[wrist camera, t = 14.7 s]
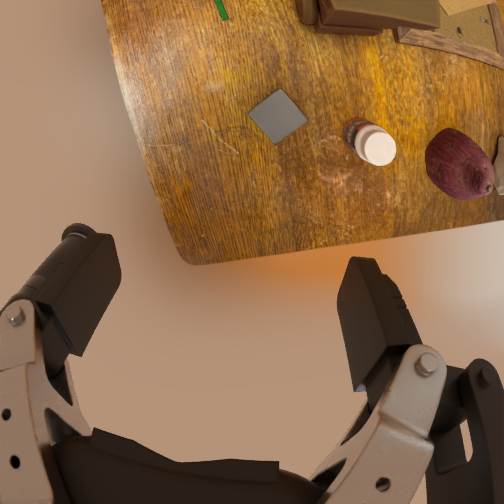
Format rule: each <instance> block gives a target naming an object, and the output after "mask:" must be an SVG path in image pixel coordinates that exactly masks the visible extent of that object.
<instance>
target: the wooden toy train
mask: <svg viewBox="0 0 504 504" xmlns="http://www.w3.org/2000/svg"><path fill="white" fill-rule="evenodd" d="M295 1H296V6H297V11H298V15H299V18H300V20H301V21H302V22H303V23H304V24H307V25H311V24H314V26H315V32H318V33H345V34H358V35H368V36H375V35H377V34H380V33H383V31H382V29H386V28H395V27H400V26H401V27H408V28H414V29H419V30H424V31H428V30H433V29H438V28H441V27H440V4H439V0H295Z"/></svg>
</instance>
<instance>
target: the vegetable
mask: <svg viewBox="0 0 504 504" xmlns="http://www.w3.org/2000/svg"><path fill="white" fill-rule="evenodd" d="M425 156H426V157H425V158H426V159H425V160H426V168H427V172H428V176H429V178H430V179H431V180H432V181H433V183H434V184H435V185H436V186H437V187H439V188H440V189H441V190H442V191H443V192H445V193H446V194H448V195H450V196H452V197H454V198H458V199H463V200H471V199H476V198H479V197H481V196H483V195H488V194H490V193H491V191H492V189H493V181H494V174H493V167H492V165H491V162H490V160H489V158H488V157H487V155H486V154H485V153H484V152H483V151H482V149H481V148H480V147H479V146H478V145H477V144H476V143H475V142H474V141H473V140H472V139H471V138H469V137H468V136H466V135H465V134H463V133H461V132H459V131H457V130H455V129H452V128H448V129H444V130H443V131H441V132H440V133H439V134H438V135H437V136H436V137H435V138H434V139H433V140H432V141H431V143H430V144H429V146H428V148H427V150H426V155H425Z"/></svg>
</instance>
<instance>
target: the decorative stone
mask: <svg viewBox="0 0 504 504" xmlns="http://www.w3.org/2000/svg"><path fill="white" fill-rule="evenodd" d="M492 167H493V174H494V181H493V184H494V186H495V187H496V190H497V192H498V194H499V195H504V136H500V137H499V139H498V153H497V156H496V159H495V162H494V164H493V166H492Z"/></svg>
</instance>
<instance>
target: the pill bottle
mask: <svg viewBox="0 0 504 504" xmlns="http://www.w3.org/2000/svg"><path fill="white" fill-rule="evenodd" d="M343 137H344V140H345V143H346V144H347V145H348V147H350V148H351V149H352V150H353V151H354V152H355V153H356V154H357V155H358V156H360V157H361V158H362V159H363V160H365V161H367V162H371V163H372V164H374V165H377V166H383V165H386V164H388V163H390V162H391V161H392V160H393V158H394V156H395V154H396V144H395V142H394V140H393V138H392V137H391V136H390V135H388V133H387V132H386V131H385V130H384V129H383V128H381V127H380V126H378V125H375V124H373V123H371V122H369V121H367V120H364V119H353V120H351V121H350V122H348V123H347V124H346V126H345V128H344V131H343Z"/></svg>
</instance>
